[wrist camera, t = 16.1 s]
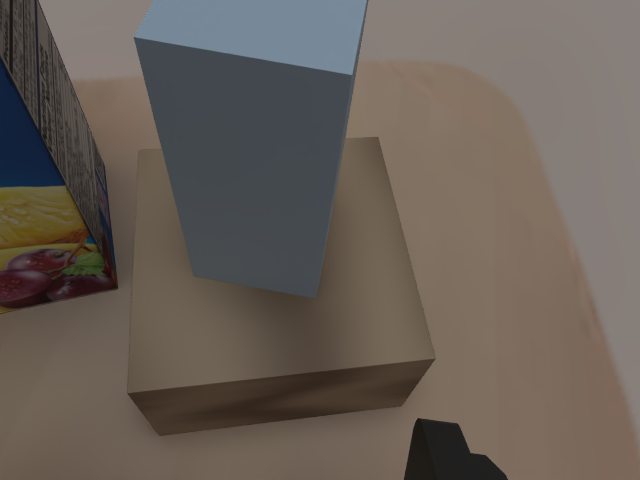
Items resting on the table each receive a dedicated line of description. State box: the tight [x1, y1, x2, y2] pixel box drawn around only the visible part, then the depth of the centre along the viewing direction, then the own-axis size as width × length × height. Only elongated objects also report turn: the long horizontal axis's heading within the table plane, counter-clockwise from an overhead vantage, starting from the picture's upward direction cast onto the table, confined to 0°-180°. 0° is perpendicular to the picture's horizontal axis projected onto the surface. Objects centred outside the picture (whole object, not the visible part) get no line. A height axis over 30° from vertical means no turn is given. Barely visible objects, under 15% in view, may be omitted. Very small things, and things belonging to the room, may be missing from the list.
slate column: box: [134, 0, 368, 299], centre depth 16 cm, size 4×4×10 cm
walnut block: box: [127, 137, 436, 436], centre depth 23 cm, size 10×10×6 cm
